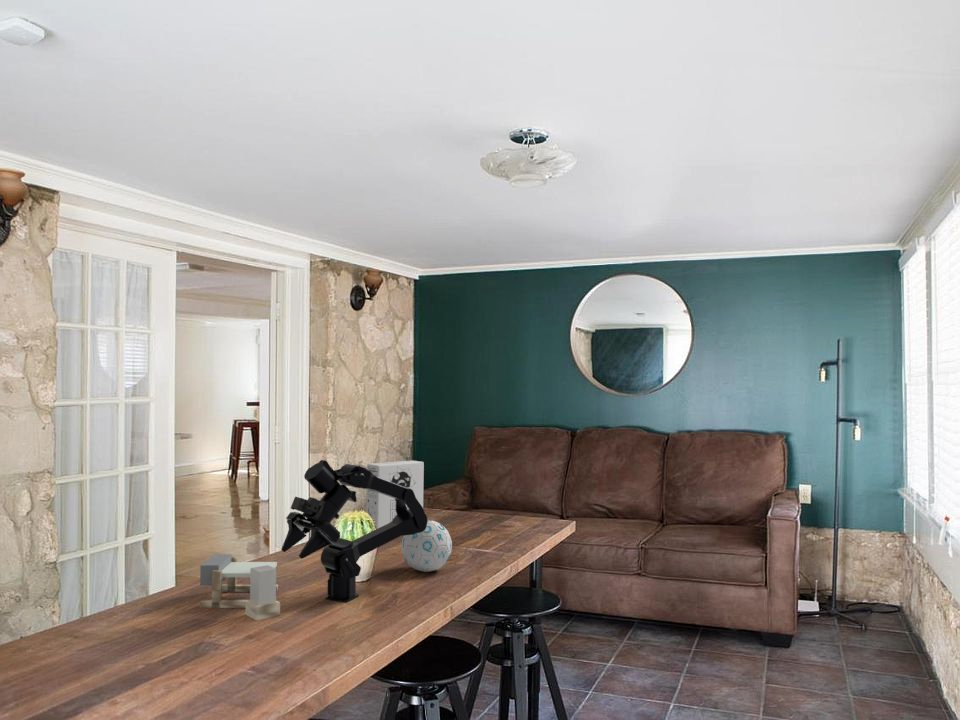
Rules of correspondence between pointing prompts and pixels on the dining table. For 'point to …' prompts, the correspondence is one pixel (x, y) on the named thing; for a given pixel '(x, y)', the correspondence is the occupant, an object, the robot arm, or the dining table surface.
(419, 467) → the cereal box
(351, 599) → the robot arm
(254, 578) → the grey tall block
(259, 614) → the stone riser
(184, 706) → the dining table surface
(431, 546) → the puzzle ball
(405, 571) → the dining table surface
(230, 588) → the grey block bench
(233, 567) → the trapdoor
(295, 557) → the dining table surface
